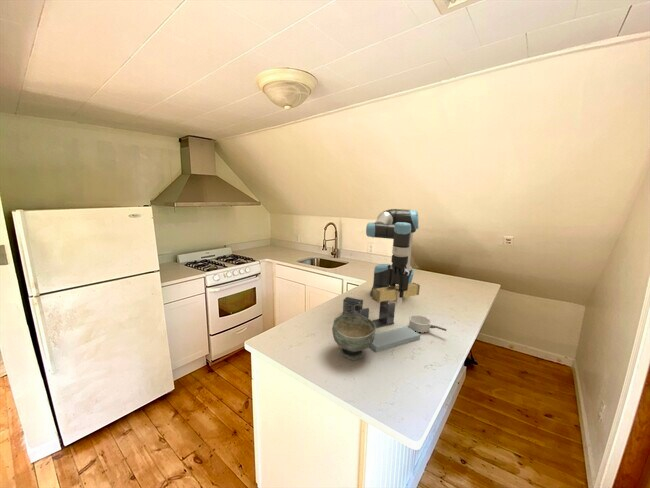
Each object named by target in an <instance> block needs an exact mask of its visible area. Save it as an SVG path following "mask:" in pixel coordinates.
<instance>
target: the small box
mask: <svg viewBox="0 0 650 488" xmlns="http://www.w3.org/2000/svg"><path fill="white" fill-rule="evenodd" d="M356 304H364V300H363V299H359V298H354V297H348V296H346V297H345V298H344V299H343V303H342V315H353V314H354V305H356Z"/></svg>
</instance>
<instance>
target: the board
mask: <svg viewBox="0 0 650 488" xmlns="http://www.w3.org/2000/svg"><path fill="white" fill-rule="evenodd" d="M419 339H420V340H421V334H420V333H419V332H415V331H414V330H412V329H411V328H410V327H409V326H408V325H406V326H402V327H397V328H394V329H389V330H386V331H382V332H378V333H375V337H374V340H373V343H372V344H371V345H370V346H369V347H370V349H372V350H373V351H375V353H377V352H381V351H384V350H388V349H391V348H392V349H393V348H394V347H398V346H402V345H406V344H408V343H412V342H416V341H419Z"/></svg>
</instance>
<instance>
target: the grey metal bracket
mask: <svg viewBox="0 0 650 488" xmlns="http://www.w3.org/2000/svg"><path fill="white" fill-rule="evenodd" d="M363 304H364V303H363ZM363 304H356V305H354V314H353V315H360V316H364V317H366V318H368V319H370V318H369V314H370V308H369V307H365V308H364V307H363V306H364V305H363ZM395 310H396V303H395V302H391V303H389V300H387V301H382V302H379V312H378V313H379V314H378V318H377V319H372V320H371V321H373V322H374V324H375V326H376V328H375V329H377V328H382V327H387V326H392V325H394V324H395V321H394V320H395V312H396V311H395Z"/></svg>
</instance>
